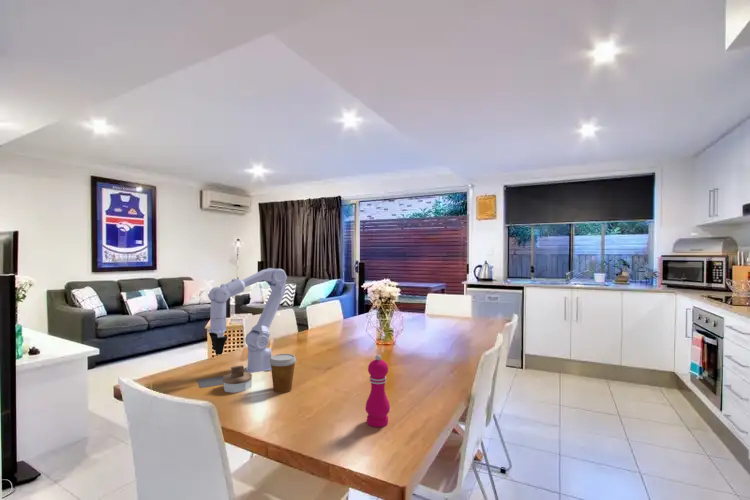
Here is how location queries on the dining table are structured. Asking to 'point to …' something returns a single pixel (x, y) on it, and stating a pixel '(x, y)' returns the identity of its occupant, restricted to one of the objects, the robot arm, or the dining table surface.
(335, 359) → the dining table surface
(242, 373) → the lid
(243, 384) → the bowl
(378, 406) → the pepper mill
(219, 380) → the mat
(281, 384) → the disposable coffee cup
